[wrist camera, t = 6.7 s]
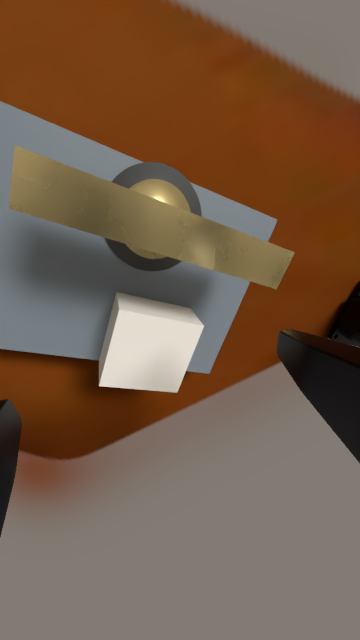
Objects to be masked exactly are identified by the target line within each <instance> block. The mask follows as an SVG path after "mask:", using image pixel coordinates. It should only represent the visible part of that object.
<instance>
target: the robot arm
mask: <svg viewBox="0 0 360 640" xmlns="http://www.w3.org/2000/svg"><path fill="white" fill-rule="evenodd" d="M328 337H329V339H326V338H322V337H318V336H315V335H311V334H307V333H304V332H300V331H296V330H292V329H288V330H284V331H280V332H279V334H278V342H277V354H278V357H279V358H280V360H281V361H282V363H283V364H284V366H285V367H286V369H287V370H288V372H289V374H290V375H291V377H292V378H293V380H294V381H295V383H296V384H297V386H298V387H299V389H300V390H301V391H302V393H303V394H304V395H305V396H306V398H307V399H308V400H309V401H310V403H311V404H312V405H313V406H314V408H315V409H316V410H317V411H318V412H319V413H320V415H321V416H322V417H323V419H324V420H325V421H326V422H327V424H328V425H329V426H330V427H331V428H332V430H333V431H334V432H335V433H336V435H337V436H338V437H339V438H340V439H341V441H342V442H343V443H344V444H345V446H346V447H347V448H348V449H349V451H350V452H351V453H352V454H353V455H354V457H355V458H356V459H357V460H358V462H359V463H360V348H359V347H360V284H359V286H358V287H357V289H356V291H355V292H354V294H353V296H352V297H351V299H350V301H349V302H348V304H347V306H346V307H345V309H344V311H343V312H342V314H341V315H340V317H339V319H338V320H337V322H336V324H335V325H334V327H333V329H332V330H331V332H330V334H329V336H328ZM330 339H331V340H330ZM344 343H345V344H344ZM348 344H349V345H348ZM352 345H354V346H352ZM356 346H358V347H356ZM21 427H22V422H21V418H20V416H19V414H18V412H17V411H16V409H15V407H14V405H13V404H12V402H11V401H10V400H8V399H5V400H0V536H1V531H2V528H3V524H4V520H5V516H6V512H7V507H8V503H9V499H10V495H11V491H12V487H13V483H14V478H15V472H16V466H17V458H18V450H19V442H20V435H21Z"/></svg>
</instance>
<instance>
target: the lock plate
mask: <svg viewBox="0 0 360 640" xmlns="http://www.w3.org/2000/svg"><path fill="white" fill-rule="evenodd" d="M14 145H16V146H19V147H21V148H24V149H26V150H29V151H32V152H34V153H37V154H39V155H42V156H45V157H47V158H50V159H52V160H55V161H58V162H60V163H63V164H65V165H68V166H71V167H73V168H76V169H79V170H81V171H84V172H86V173H89V174H92V175H94V176H97V177H99V178H102V179H105V180H107V181H110V182H112V183H115V184H118V185H120V186H123V187H125V188H128V189H129V188H130V187H131V186H132V185H134V184H136V183H138V182H140V181H143V180H147V179H159V180H164V181H167V182H169V183H171V184H173V185H174V186H175V187H177V188H178V189H179V190H180V191H181V192H182V194H183V195H184V196H185V198H186V200H187V202H188V204H189V207H190V211H191V213H193V214H196V215H198V216H201V217H204V218H206V219H209V220H211V221H214V222H217V223H219V224H222V225H224V226H227V227H230V228H232V229H235V230H238V231H240V232H243V233H245V234H248V235H251V236H253V237H256V238H258V239H261V240H264V241H266V242H268V240H269V238H270V236H271V234H272V231H273V229H274V227H275V225H276V222H277V219H275V218H272V217H270V216H268V215H265V214H263V213H261V212H258V211H256V210H254V209H251V208H249V207H247V206H244V205H242V204H239V203H237V202H235V201H232V200H230V199H228V198H225V197H223V196H221V195H218V194H216V193H214V192H211V191H209V190H207V189H204V188H202V187H200V186H197V185H195V184H193V183H190V182H189V181H188V180H187V178H186V177H184V176H183V175H182V174H181V173H180V172H178V171H177V170H176V169H174V168H172V167H170V166H168V165H165V164H161V163H156V162H145V163H144V162H141V161H139V160H137V159H134V158H132V157H130V156H127V155H125V154H123V153H120V152H118V151H116V150H113V149H111V148H109V147H106V146H104V145H101V144H99V143H97V142H94V141H92V140H90V139H87V138H85V137H83V136H80V135H78V134H76V133H73V132H71V131H69V130H66V129H64V128H62V127H59V126H57V125H55V124H52V123H50V122H48V121H45V120H43V119H41V118H38V117H36V116H34V115H31V114H29V113H27V112H24V111H22V110H20V109H17V108H15V107H13V106H10V105H8V104H6V103H3V102H1V101H0V349H6V350H15V351H23V352H32V353H40V354H48V355H57V356H65V357H74V358H82V359H90V360H99V359H100V355H101V351H102V347H103V343H104V339H105V335H106V331H107V327H108V323H109V319H110V315H111V311H112V307H113V304H114V300H115V296H116V292H119V293H124V294H128V295H133V296H137V297H142V298H146V299H151V300H155V301H160V302H164V303H169V304H173V305H178V306H182V307H187V308H191V309H192V311H193V312H194V313H195V315H196V316H197V317H198V319H199V320H200V321H201V323H202V324H203V325H204V328H203V330H202V333H201V335H200V338H199V340H198V343H197V345H196V347H195V350H194V352H193V355H192V357H191V360H190V362H189V365H188V367H187V370H186V371H191V372H200V373H208V374H209V373H210V370H211V368H212V366H213V364H214V361H215V359H216V357H217V355H218V352H219V350H220V348H221V346H222V344H223V341H224V339H225V337H226V335H227V332H228V330H229V328H230V326H231V323H232V321H233V319H234V317H235V314H236V312H237V310H238V308H239V305H240V303H241V301H242V299H243V296H244V294H245V292H246V290H247V287H248V285H249V283H250V281H248V280H244V279H241V278H238V277H234V276H231V275H228V274H224V273H221V272H218V271H214V270H211V269H208V268H204V267H201V266H198V265H194V264H191V263H188V262H184V261H181V260H178V259H174V258H171V257H165V258H161V259H149V258H144V257H142V256H140V255H138V254H136V253H134V252H133V251H132V250H131V249H130V248H129V247H128V246H127V245H126V244H124V243H121V242H118V241H114V240H111V239H108V238H104V237H101V236H98V235H94V234H91V233H88V232H84V231H81V230H78V229H74V228H71V227H68V226H64V225H61V224H58V223H54V222H51V221H48V220H44V219H41V218H38V217H34V216H31V215H28V214H24V213H21V212H18V211H14V210H11V209H9V202H10V191H11V179H12V168H13V157H14Z"/></svg>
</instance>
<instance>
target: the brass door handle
mask: <svg viewBox="0 0 360 640" xmlns="http://www.w3.org/2000/svg"><path fill="white" fill-rule="evenodd" d="M9 209H11V210H14V211H18V212H21V213H24V214H28V215H31V216H34V217H38V218H41V219H44V220H48V221H51V222H54V223H58V224H61V225H64V226H68V227H71V228H74V229H78V230H81V231H84V232H88V233H91V234H94V235H98V236H101V237H104V238H108V239H111V240H114V241H118V242H121V243H124V244H126V245H127V246H128V247H129V248H130V249H131V250H132V251H133V252H134V253H136V254H138V255H140V256H142V257H144V258H149V259H161V258H165V257H171V258H174V259H178V260H181V261H184V262H188V263H191V264H194V265H198V266H201V267H204V268H208V269H211V270H214V271H218V272H221V273H224V274H228V275H231V276H234V277H238V278H241V279H244V280H248V281H251V282H254V283H258V284H261V285H264V286H268V287H271V288H274V289H277V288H278V285H279V283H280V281H281V279H282V277H283V275H284V273H285V271H286V269H287V267H288V265H289V263H290V261H291V259H292V257H293V255H294V253H295V252H292V251H290V250H287V249H284V248H282V247H279V246H277V245H274V244H271V243H269V242H266V241H264V240H261V239H258V238H256V237H253V236H251V235H248V234H245V233H243V232H240V231H238V230H235V229H232V228H230V227H227V226H224V225H222V224H219V223H217V222H214V221H211V220H209V219H206V218H204V217H201V216H198V215H196V214H193V213H191V211H190V207H189V204H188V202H187V200H186V198H185V196H184V195H183V194H182V192H181V191H180V190H179V189H178V188H177V187H175V186H174V185H173V184H171V183H169V182H167V181H164V180H159V179H147V180H143V181H140V182H138V183H136V184H134V185H132V186H131V187H130V188H129V189H128V188H125V187H123V186H120V185H118V184H115V183H112V182H110V181H107V180H105V179H102V178H99V177H97V176H94V175H92V174H89V173H86V172H84V171H81V170H79V169H76V168H73V167H71V166H68V165H65V164H63V163H60V162H58V161H55V160H52V159H50V158H47V157H45V156H42V155H39V154H37V153H34V152H32V151H29V150H26V149H24V148H21V147H19V146H16V145H14V157H13V168H12V179H11V191H10V202H9Z"/></svg>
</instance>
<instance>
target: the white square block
mask: <svg viewBox="0 0 360 640" xmlns="http://www.w3.org/2000/svg"><path fill="white" fill-rule="evenodd" d="M203 328H204V325H203V324H202V323H201V321H200V320H199V319H198V317H197V316H196V315H195V313H194V312H193V311H192V309H191V308H187V307H182V306H178V305H173V304H169V303H164V302H160V301H155V300H151V299H146V298H142V297H137V296H133V295H128V294H124V293H119V292H116V296H115V300H114V304H113V307H112V311H111V315H110V319H109V323H108V327H107V331H106V335H105V339H104V343H103V347H102V351H101V355H100V359H99V386H103V387H115V388H127V389H140V390H152V391H164V392H176V393H177V392H178V389H179V387H180V385H181V382H182V380H183V377H184V375H185V372H186V370H187V367H188V365H189V362H190V360H191V357H192V355H193V352H194V350H195V347H196V345H197V343H198V340H199V338H200V335H201V333H202V330H203Z"/></svg>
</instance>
